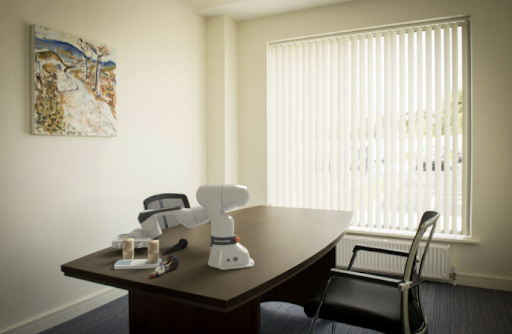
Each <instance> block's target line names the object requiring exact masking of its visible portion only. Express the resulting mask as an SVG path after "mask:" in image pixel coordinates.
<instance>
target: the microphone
mask: <svg viewBox="0 0 512 334" xmlns="http://www.w3.org/2000/svg"><path fill="white" fill-rule="evenodd" d="M188 244H189V242H188V240H187V239H186V238H180V239H179V240H178V242H177V243H176V244H175V245H172V246H171V247H169V248H168V249H167V250H166V251H164V252H163V253H162V254H161V255H162V256H165V255H171V254H172V253H175V252H176V251H178V250H181V249H186V248H187V247H188Z"/></svg>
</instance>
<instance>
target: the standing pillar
mask: <svg viewBox="0 0 512 334" xmlns="http://www.w3.org/2000/svg"><path fill="white" fill-rule="evenodd" d="M147 259H148V263H158V261H159V259H160V239H158V240H149V241H148V247H147Z"/></svg>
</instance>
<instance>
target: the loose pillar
mask: <svg viewBox="0 0 512 334" xmlns="http://www.w3.org/2000/svg"><path fill="white" fill-rule="evenodd" d="M134 258H135V249H134V238H125V239H124V240H123V248H122V260H127V259H134Z"/></svg>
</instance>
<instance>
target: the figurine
mask: <svg viewBox="0 0 512 334" xmlns="http://www.w3.org/2000/svg"><path fill="white" fill-rule="evenodd" d="M179 263H180V260H179V258H178V256H177V255H175V254H172V253H170V254H168V255H167V257H166V258H165V259H164V261H161V264H160V266H158V267H157V268H154V271H153V272H152V273H150V274H149V277H151V278H156V277H157V276H159V275H162V274H165V273H166V272H170V271H171V270H173V269H176V268H178V266H179V265H180V264H179Z"/></svg>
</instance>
